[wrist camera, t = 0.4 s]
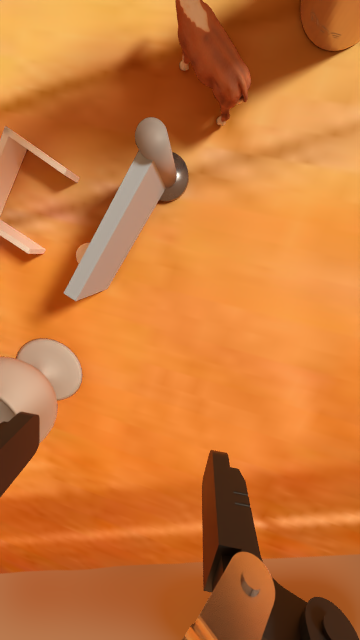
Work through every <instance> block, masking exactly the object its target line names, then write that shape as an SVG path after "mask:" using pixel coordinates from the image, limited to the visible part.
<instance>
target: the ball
mask: <svg viewBox="0 0 360 640" xmlns="http://www.w3.org/2000/svg"><path fill="white" fill-rule="evenodd" d="M89 244H90V243H84V244H82V245H81V246H80V247H79V248H78V249H77V252H76V259H77V262H78V264H79V263H80V261H81V259H82V257H83V256H84V254H85V252H86V250H87V248H88V246H89Z"/></svg>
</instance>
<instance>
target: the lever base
mask: <svg viewBox="0 0 360 640" xmlns="http://www.w3.org/2000/svg"><path fill="white" fill-rule="evenodd" d="M172 155H173V159H174V163H175V167H176V172H177V179H176V182H175V184H174V185H173V186H172V187H170V188H166V189H165V190H164V192H163V194H162V196H161V197H160V199H159V200H160V201H163V202H171V201H174V200H176V199H178V198H179V197H180V196H181V195H182V194H183V193H184V192H185V190H186V188H187V185H188V170H187V166H186V164H185V162H184V161H183V159H182V158H181V157H180V156H179V155H177V154H176V153H173V152H172Z"/></svg>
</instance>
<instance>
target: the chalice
mask: <svg viewBox="0 0 360 640" xmlns="http://www.w3.org/2000/svg"><path fill="white" fill-rule="evenodd" d="M81 382H82V368H81V365H80V363H79V361H78V359H77V357H76V356H75V354H74V353H73V352H72V351H71V350H70V349H69V348H68V347H66V346H65V345H63V344H62V343H59V342H57V341H55V340H51V339H35V340H32V341H30V342H27V343H26V344H25V345H24V346H22V347H21V349H20V350H19V352H18V354H17V357H16V359H14V358H9V357H0V423H2V422H3V421H6V422H9V421H10V420H11V419H12V418H13V417H14V416H15V415H16V414H18V413H19V412H27V413H32V414H37V415H39V418H40V442H41V441H42V440H43V439H44V438H45V437H46V436H47V435H48V433H49V432H50V430H51V429H52V427H53V425H54V422H55V419H56V416H57V408H58V404H57V400H63V399H66V398H68V397H70V396H72V395H73V394H74V393H76V391H77V390H78V389H79V387H80V384H81ZM40 442H39V443H40Z"/></svg>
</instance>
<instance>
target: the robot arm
mask: <svg viewBox="0 0 360 640" xmlns="http://www.w3.org/2000/svg"><path fill="white" fill-rule="evenodd" d="M300 11H301V21H302V24H303V28H304V30H305V32H306V34H307V36H308V38H309V39H310V40H311V41H312V42H313V43H314V44H315V45H317V46H318V47H320V48H322V49H325V50H328V51H339V50H343V49H346V48H349V47H351V46H353V45H355V44H356V43H357V42H359V41H360V0H301V8H300ZM39 442H40V418H39V415H37V414H32V413H27V412H19V413H18V414H16V415H15V416H14V417H13V418H12V419H11V420H10V421H9V422H6V421H3V422H2V423H0V497H1V496H2V494H3V493H4V492H5V491H6V489H7V488H8V487H9V486H10V484H11V483H12V482H13V481H14V479H15V478H16V477H17V476H18V475H19V473H20V472H21V471H22V470H23V468H24V467H25V466H26V465H27V463H28V462H29V461H30V460H31V458H32V457H33V456H34V454H35V453H36V451H37V448H38V446H39ZM202 520H203V582H204V583H203V584H204V591H208V592H212V594H211V596H210V598H209V599H208V601H207V603H206V605H205V606H204V608H203V610H202V612H201V614H200V615H199V617H198V619H197V621H196V622H195V623H194V624H192V625H191V627H190V628H189V630H188V631H187V633H186V635H185V636H184V638H183V639H182V640H359V638H358V636H357V633H356V632H355V630H354V628H353V626H352V625H351V623H350V621H349V620H348V619H347V617H346V616H345V615H344V614H343V613H342V611H341V610H340V609H338V607H337V606H335V605H334V604H333V603H332V602H330V601H328V600H326V599H324V598H321V597H314V598H312V599H310V600H309V602H308V603H307V602H305V601H304V600H302V599H301V598H299V597H297V596H296V595H294V594H293V593H291V592H289V591H288V590H286V589H285V588H283V587H282V586H281V585H280V584H278V583H277V582H276V581H275V580H274V579H273V578H272V576H271V575H270V573H269V571H268V569H267V567H266V566H265V565H264V563H263V561H262V558H261V555H260V551H259V546H258V541H257V537H256V532H255V527H254V522H253V517H252V512H251V508H250V502H249V497H248V492H247V487H246V482H245V480H244V478H243V476H242V475H241V473H240V471H239V469H236V468H231V467H230V465H229V458H228V454H227V453H224V452H219V451H214V450H211V451H210V453H209V457H208V461H207V465H206V468H205V472H204V476H203V483H202Z"/></svg>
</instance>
